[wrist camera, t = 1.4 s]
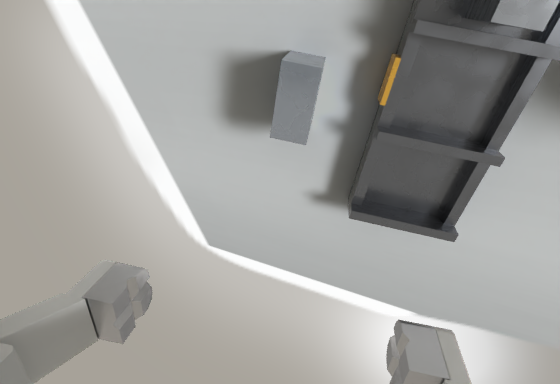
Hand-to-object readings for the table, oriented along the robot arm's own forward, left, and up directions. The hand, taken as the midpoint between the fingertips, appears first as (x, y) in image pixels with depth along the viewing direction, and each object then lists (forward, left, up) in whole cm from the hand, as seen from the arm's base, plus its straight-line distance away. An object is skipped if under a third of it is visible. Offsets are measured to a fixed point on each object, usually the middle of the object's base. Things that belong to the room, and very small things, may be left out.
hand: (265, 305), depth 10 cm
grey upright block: (-1, -2, -22) cm, 22 cm away
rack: (-4, +10, -22) cm, 25 cm away
